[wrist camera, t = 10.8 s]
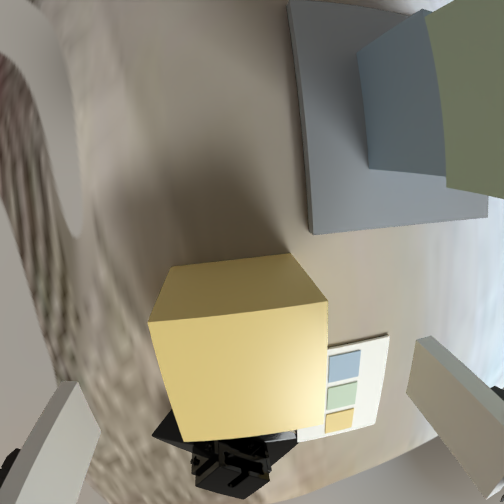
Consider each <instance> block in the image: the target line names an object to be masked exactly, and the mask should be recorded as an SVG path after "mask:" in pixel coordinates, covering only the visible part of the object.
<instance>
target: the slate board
mask: <svg viewBox="0 0 504 504" xmlns="http://www.w3.org/2000/svg"><path fill="white" fill-rule="evenodd" d="M286 7H287V14H288V20H289V27H290V34H291V41H292V49H293V56H294V64H295V72H296V80H297V89H298V98H299V107H300V117H301V127H302V138H303V149H304V162H305V174H306V188H307V204H308V221H309V232H310V233H311V234H313V235H320V234H329V233H338V232H348V231H357V230H367V229H376V228H386V227H395V226H405V225H415V224H425V223H435V222H445V221H455V220H466V219H476V218H487V217H488V195H483V194H478V193H473V192H468V191H462V190H457V189H452V188H446V177H443V176H435V175H426V174H417V173H407V172H397V171H385V170H373V169H369V162H368V148H367V135H366V124H365V114H364V105H363V97H362V89H361V81H360V74H359V67H358V61H357V55H356V53H357V52H358V51H360V50H361V49H363V48H364V47H365V46H367V45H368V44H370V43H371V42H373V41H374V40H375V39H377V38H378V37H380V36H381V35H383V34H384V33H386V32H387V31H389V30H390V29H392V28H393V27H395V26H396V25H398V24H399V23H401V22H402V21H404V20H405V19H407V18H408V17H410V16H407V15H403V14H398V13H394V12H389V11H384V10H379V9H374V8H368V7H362V6H356V5H348V4H341V3H332V2H322V1H310V0H289V1H288V3H287V6H286Z"/></svg>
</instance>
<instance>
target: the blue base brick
mask: <svg viewBox="0 0 504 504" xmlns="http://www.w3.org/2000/svg"><path fill="white" fill-rule="evenodd" d="M430 13H432V12H431V11H428V10H424V9H421V10H420V11H418V12H416V13H415V14H413V15H412V16H410V17H408V18H407V19H405V20H404V21H402V22H401V23H399V24H398V25H396V26H395V27H393V28H392V29H390V30H389V31H387V32H386V33H384V34H383V35H381V36H380V37H378V38H377V39H375V40H374V41H373V42H371V43H370V44H368V45H367V46H365V47H364V48H363V49H361V50H360V51H358V52H357V53H356V55H357V61H358V67H359V74H360V81H361V89H362V97H363V105H364V114H365V124H366V135H367V148H368V162H369V169H373V170H385V171H397V172H407V173H417V174H426V175H435V176H443V177H446V158H445V141H444V129H443V118H442V109H441V101H440V93H439V86H438V80H437V74H436V68H435V63H434V57H433V52H432V48H431V43H430V38H429V34H428V30H427V26H426V22H425V18H424V17H425V16H427V15H429V14H430Z"/></svg>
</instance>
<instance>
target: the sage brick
mask: <svg viewBox="0 0 504 504" xmlns="http://www.w3.org/2000/svg"><path fill="white" fill-rule="evenodd" d="M424 18H425V22H426V26H427V30H428V34H429V38H430V43H431V48H432V52H433V57H434V63H435V68H436V74H437V80H438V86H439V93H440V101H441V109H442V118H443V129H444V141H445V158H446V188H452V189H457V190H462V191H468V192H473V193H478V194H483V195H488V196H493V197H497V198H502V199H504V0H454V1H452V2H450V3H448V4H447V5H445V6H443V7H441V8H439V9H438V10H436V11H434V12H432V13H430V14H429V15H427V16H425V17H424Z"/></svg>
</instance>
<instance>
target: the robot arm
mask: <svg viewBox="0 0 504 504" xmlns="http://www.w3.org/2000/svg"><path fill="white" fill-rule="evenodd" d="M406 393H407V395H408V396H409V397H410V398H411V400H412V401H413V402H414V404H415V405H416V406H417V408H418V409H419V410H420V411H421V413H422V414H423V415H424V417H425V418H426V419H427V421H428V422H429V423H430V425H431V426H432V427H433V428H434V430H435V431H436V432H437V434H438V435H439V436H440V438H441V439H442V440H443V442H444V443H445V444H446V446H447V447H448V448H449V450H450V451H451V452H452V454H453V455H454V456H455V458H456V459H457V461H458V462H459V463H460V465H461V466H462V467H463V469H464V470H465V471H466V473H467V474H468V476H469V477H470V478H471V480H472V481H473V482H474V484H475V485H476V486H477V488H478V489H479V491H480V492H481V494H482V495H483V497H484V498H485V499H488V498H489V497H491V496H492V495H494V494H495V493H497V492H498V491H500V490H501V489H502V488H503V487H504V390H502V389H500V388H498V387H496V386H494V387H492V388H489V387H488V386H487V385H486V384H485V383H484V382H483V381H482V380H481V379H479V378H478V377H477V376H476V375H475V374H474V373H473V372H472V371H471V370H470V369H468V368H467V367H466V366H465V365H464V364H463V363H462V362H461V361H460V360H458V359H457V358H456V357H455V356H454V355H453V354H452V353H451V352H449V351H448V350H447V349H446V348H445V347H444V346H443V345H441V344H440V343H439V342H438V341H437V340H436V339H435V338H433V337H432V336H428V337H425V338H421V339H418V340H416V344H415V350H414V356H413V361H412V367H411V372H410V377H409V382H408V386H407V391H406ZM100 434H101V430H100V428H99V426H98V424H97V422H96V420H95V418H94V416H93V414H92V412H91V410H90V408H89V406H88V404H87V401H86V399H85V397H84V395H83V393H82V390H81V388H80V386H79V383H78V382H76V381H62V382H61V383H60V385H59V386H58V388H57V390H56V391H55V393H54V394H53V396H52V398H51V399H50V401H49V402H48V404H47V406H46V407H45V409H44V411H43V412H42V414H41V416H40V417H39V419H38V421H37V422H36V424H35V426H34V427H33V429H32V431H31V433H30V435H29V436H28V438H27V440H26V441H25V443H24V445H23V447H22V449H18V448H16V449H15V450H14V451H13V452H11V453H10V454H9V455H8V456H7V457H6V459H5V461H4V463H3V465H2V466H1V467H2V469H0V504H77V500H78V497H79V494H80V491H81V488H82V485H83V482H84V479H85V476H86V473H87V470H88V467H89V464H90V461H91V458H92V456H93V453H94V450H95V447H96V444H97V442H98V439H99V436H100ZM503 501H504V495H503V496H502V498H501V501H500V502H503Z"/></svg>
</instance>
